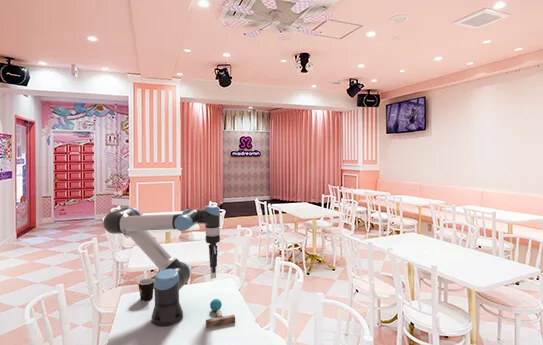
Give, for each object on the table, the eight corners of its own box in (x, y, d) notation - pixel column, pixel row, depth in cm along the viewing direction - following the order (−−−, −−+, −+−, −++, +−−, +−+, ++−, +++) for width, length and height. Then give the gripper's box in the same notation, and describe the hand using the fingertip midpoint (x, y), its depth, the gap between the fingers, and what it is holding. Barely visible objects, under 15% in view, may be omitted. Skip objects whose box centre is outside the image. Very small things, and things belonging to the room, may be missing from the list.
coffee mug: (138, 296, 186) (138, 279, 185) (154, 294, 189) (154, 277, 188) (138, 305, 175) (137, 287, 174) (155, 302, 178) (154, 285, 177)
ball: (209, 314, 167) (211, 305, 164) (208, 304, 172) (210, 296, 169) (221, 313, 169) (223, 305, 166) (219, 304, 174) (221, 296, 171)
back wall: (206, 328, 152) (206, 322, 152) (205, 325, 154) (205, 319, 154) (235, 322, 157) (235, 316, 157) (234, 320, 159) (234, 314, 159)
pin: (215, 312, 164) (217, 321, 156) (217, 308, 165) (220, 316, 157) (218, 315, 165) (221, 323, 157) (221, 311, 165) (224, 319, 157)
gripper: (222, 236, 165) (222, 281, 167) (217, 231, 177) (217, 272, 179) (207, 238, 162) (208, 283, 164) (203, 232, 175) (204, 274, 176)
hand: (213, 277), depth 171 cm, fingers closed
